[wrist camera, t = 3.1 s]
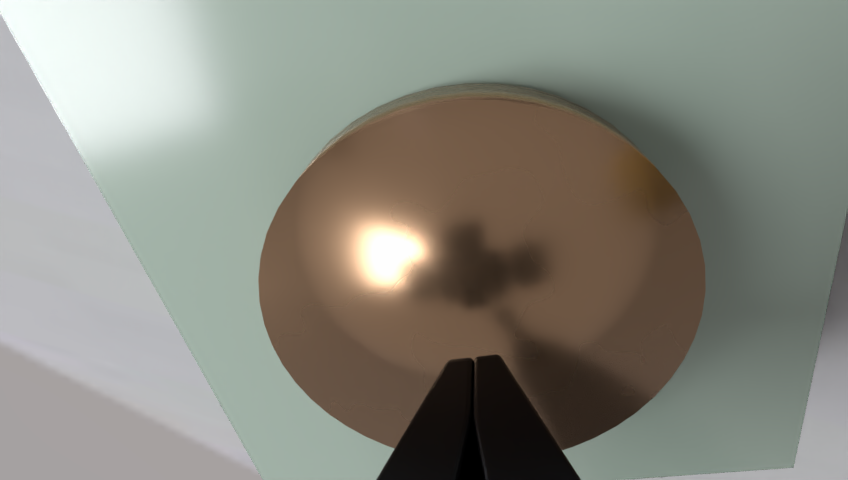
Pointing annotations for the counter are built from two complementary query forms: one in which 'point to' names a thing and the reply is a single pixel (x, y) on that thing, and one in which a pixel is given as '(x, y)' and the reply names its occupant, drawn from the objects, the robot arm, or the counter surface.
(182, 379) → the counter surface
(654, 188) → the copper round dome
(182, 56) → the base
